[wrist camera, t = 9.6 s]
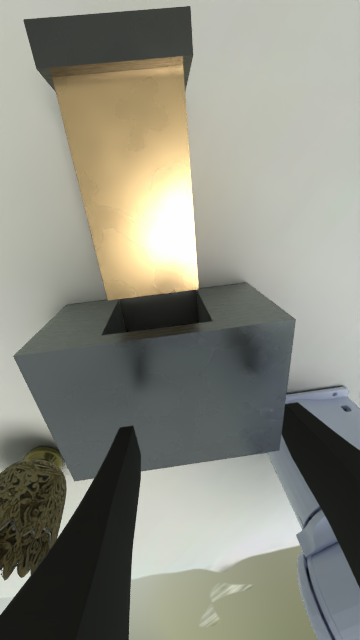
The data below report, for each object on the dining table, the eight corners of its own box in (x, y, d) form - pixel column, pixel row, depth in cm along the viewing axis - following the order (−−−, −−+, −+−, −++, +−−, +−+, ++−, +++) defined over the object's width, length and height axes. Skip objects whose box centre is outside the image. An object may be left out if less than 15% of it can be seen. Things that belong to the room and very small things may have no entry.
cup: (94, 468, 25) (68, 570, 18) (31, 483, 26) (-20, 590, 18) (64, 422, 22) (18, 522, 15) (-8, 440, 22) (-88, 547, 15)
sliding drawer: (177, 89, 13) (190, 6, 8) (192, 269, 17) (206, 291, 12) (77, 98, 13) (23, 19, 8) (117, 278, 17) (99, 305, 12)
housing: (247, 282, 18) (295, 319, 11) (244, 383, 22) (279, 450, 16) (66, 304, 17) (13, 356, 11) (99, 403, 22) (74, 481, 15)
